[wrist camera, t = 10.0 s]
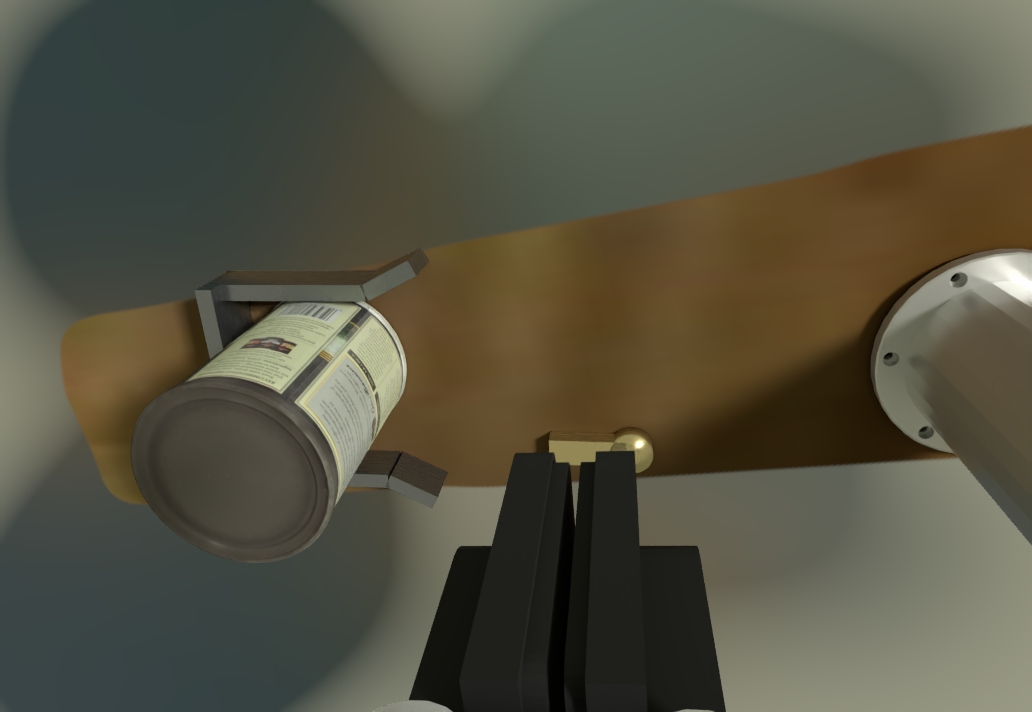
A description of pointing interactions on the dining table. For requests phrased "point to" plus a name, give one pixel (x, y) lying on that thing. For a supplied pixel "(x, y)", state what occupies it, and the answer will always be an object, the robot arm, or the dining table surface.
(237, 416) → the coffee can
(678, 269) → the dining table surface
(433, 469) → the bracket
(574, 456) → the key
